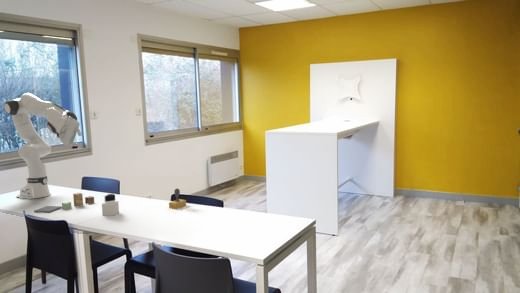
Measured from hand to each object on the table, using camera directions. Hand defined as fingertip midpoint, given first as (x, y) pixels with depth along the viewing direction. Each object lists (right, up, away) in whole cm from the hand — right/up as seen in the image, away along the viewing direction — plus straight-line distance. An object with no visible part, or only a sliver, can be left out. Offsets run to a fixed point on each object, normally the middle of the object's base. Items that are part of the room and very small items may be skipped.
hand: (78, 140), depth 255 cm
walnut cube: (+2, -42, +13) cm, 44 cm away
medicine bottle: (+26, -45, -15) cm, 54 cm away
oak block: (-3, -43, +6) cm, 43 cm away
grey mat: (-18, -44, -3) cm, 48 cm away
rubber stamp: (+64, -43, -2) cm, 77 cm away
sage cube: (-7, -44, 0) cm, 44 cm away
